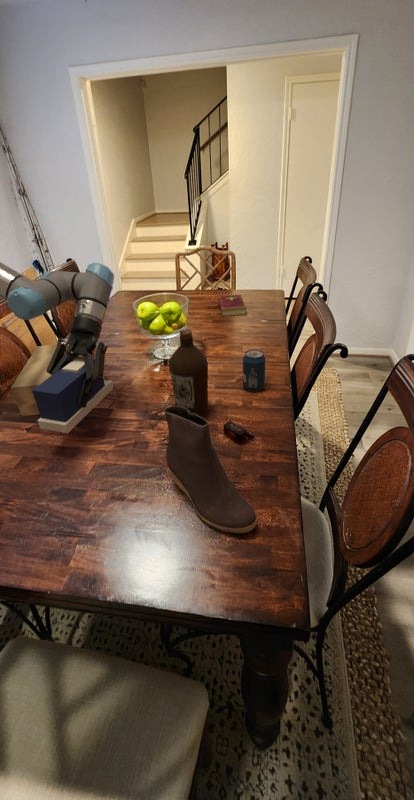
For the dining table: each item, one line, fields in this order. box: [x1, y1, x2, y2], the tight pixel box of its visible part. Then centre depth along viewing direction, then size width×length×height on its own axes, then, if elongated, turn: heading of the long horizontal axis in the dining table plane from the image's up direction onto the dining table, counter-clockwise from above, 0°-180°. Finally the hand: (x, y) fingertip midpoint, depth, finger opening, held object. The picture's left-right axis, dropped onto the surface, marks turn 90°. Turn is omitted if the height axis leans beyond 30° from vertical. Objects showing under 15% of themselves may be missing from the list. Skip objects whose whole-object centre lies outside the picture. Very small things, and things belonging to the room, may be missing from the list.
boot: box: [163, 405, 258, 534], centre depth 74 cm, size 9×24×20 cm, turn 45°
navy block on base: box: [32, 358, 114, 434], centre depth 96 cm, size 22×8×11 cm, turn 163°
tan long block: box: [10, 344, 80, 417], centre depth 122 cm, size 14×30×10 cm, turn 8°
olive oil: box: [168, 328, 209, 418], centre depth 103 cm, size 11×11×25 cm
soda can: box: [242, 349, 266, 393], centre depth 116 cm, size 7×7×12 cm
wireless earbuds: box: [223, 421, 255, 445], centre depth 97 cm, size 5×7×3 cm, turn 43°
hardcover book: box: [218, 294, 247, 317], centre depth 186 cm, size 12×21×4 cm, turn 2°
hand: (66, 404), depth 94 cm, fingers closed on navy block on base, 8 cm apart
